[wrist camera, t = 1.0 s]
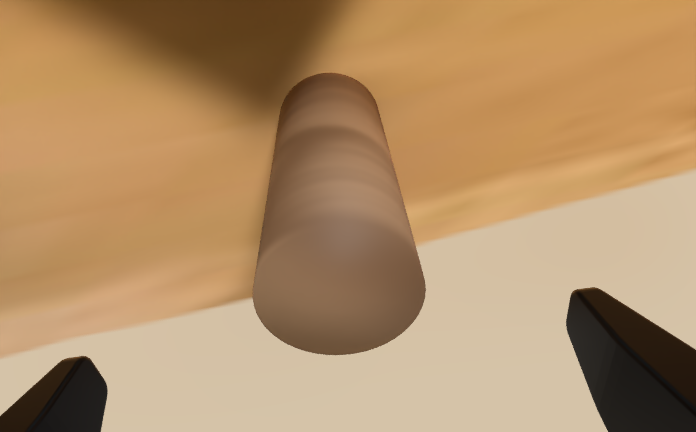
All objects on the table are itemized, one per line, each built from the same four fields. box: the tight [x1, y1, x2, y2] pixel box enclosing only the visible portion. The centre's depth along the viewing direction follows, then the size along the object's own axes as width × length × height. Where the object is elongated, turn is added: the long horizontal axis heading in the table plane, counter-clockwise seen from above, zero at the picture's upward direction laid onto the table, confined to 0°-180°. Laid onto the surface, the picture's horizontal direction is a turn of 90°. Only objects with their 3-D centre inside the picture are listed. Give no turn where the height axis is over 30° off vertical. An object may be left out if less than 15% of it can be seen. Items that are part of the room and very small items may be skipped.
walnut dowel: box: [253, 73, 426, 355], centre depth 15 cm, size 4×4×10 cm
